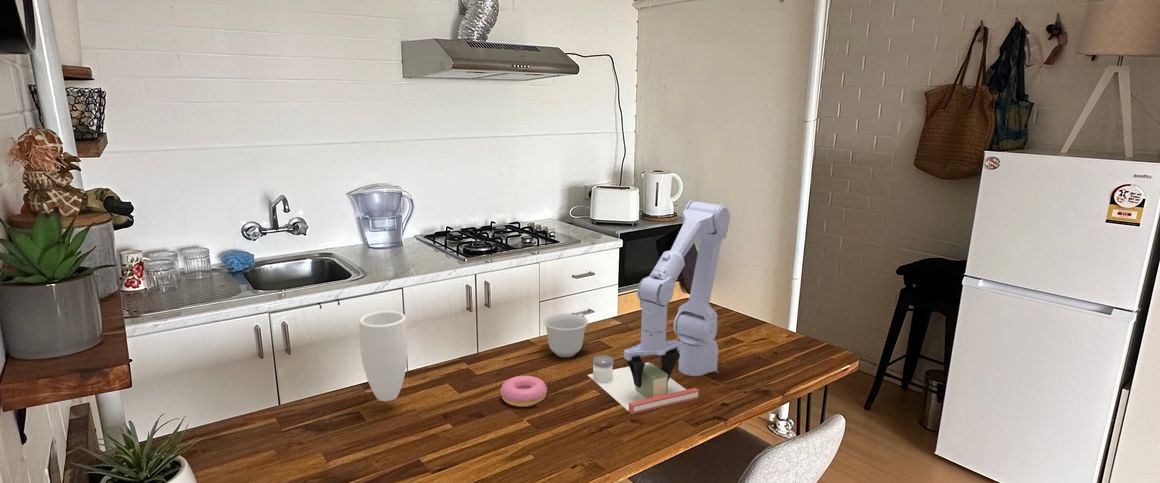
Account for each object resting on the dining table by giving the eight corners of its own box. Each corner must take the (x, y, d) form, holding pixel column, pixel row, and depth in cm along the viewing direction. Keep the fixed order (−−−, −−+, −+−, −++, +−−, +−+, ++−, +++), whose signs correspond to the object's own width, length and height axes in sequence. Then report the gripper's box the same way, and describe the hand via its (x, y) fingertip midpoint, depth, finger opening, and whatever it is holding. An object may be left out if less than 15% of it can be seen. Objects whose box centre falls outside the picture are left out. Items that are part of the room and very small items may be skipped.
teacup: (601, 349, 179) (602, 315, 177) (571, 368, 167) (572, 332, 165) (565, 340, 186) (565, 307, 183) (534, 358, 173) (534, 322, 171)
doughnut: (516, 384, 158) (516, 368, 157) (555, 394, 154) (555, 377, 153) (491, 403, 149) (490, 386, 148) (532, 414, 144) (532, 396, 143)
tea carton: (635, 389, 154) (636, 366, 153) (650, 386, 156) (651, 363, 155) (651, 402, 148) (652, 378, 147) (667, 398, 150) (668, 374, 149)
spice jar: (606, 372, 163) (607, 354, 162) (616, 380, 159) (617, 361, 158) (589, 376, 161) (589, 357, 160) (598, 384, 157) (598, 365, 155)
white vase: (420, 401, 148) (416, 313, 143) (394, 423, 139) (388, 329, 134) (382, 394, 152) (377, 307, 147) (353, 415, 142) (346, 322, 137)
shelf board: (648, 365, 170) (648, 355, 169) (698, 401, 150) (699, 390, 150) (587, 377, 162) (587, 367, 161) (632, 417, 143) (632, 406, 142)
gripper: (635, 339, 142) (633, 395, 145) (689, 329, 148) (687, 383, 151) (619, 328, 148) (618, 383, 151) (672, 319, 154) (670, 371, 157)
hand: (651, 382), depth 152 cm, fingers open, 7 cm apart
